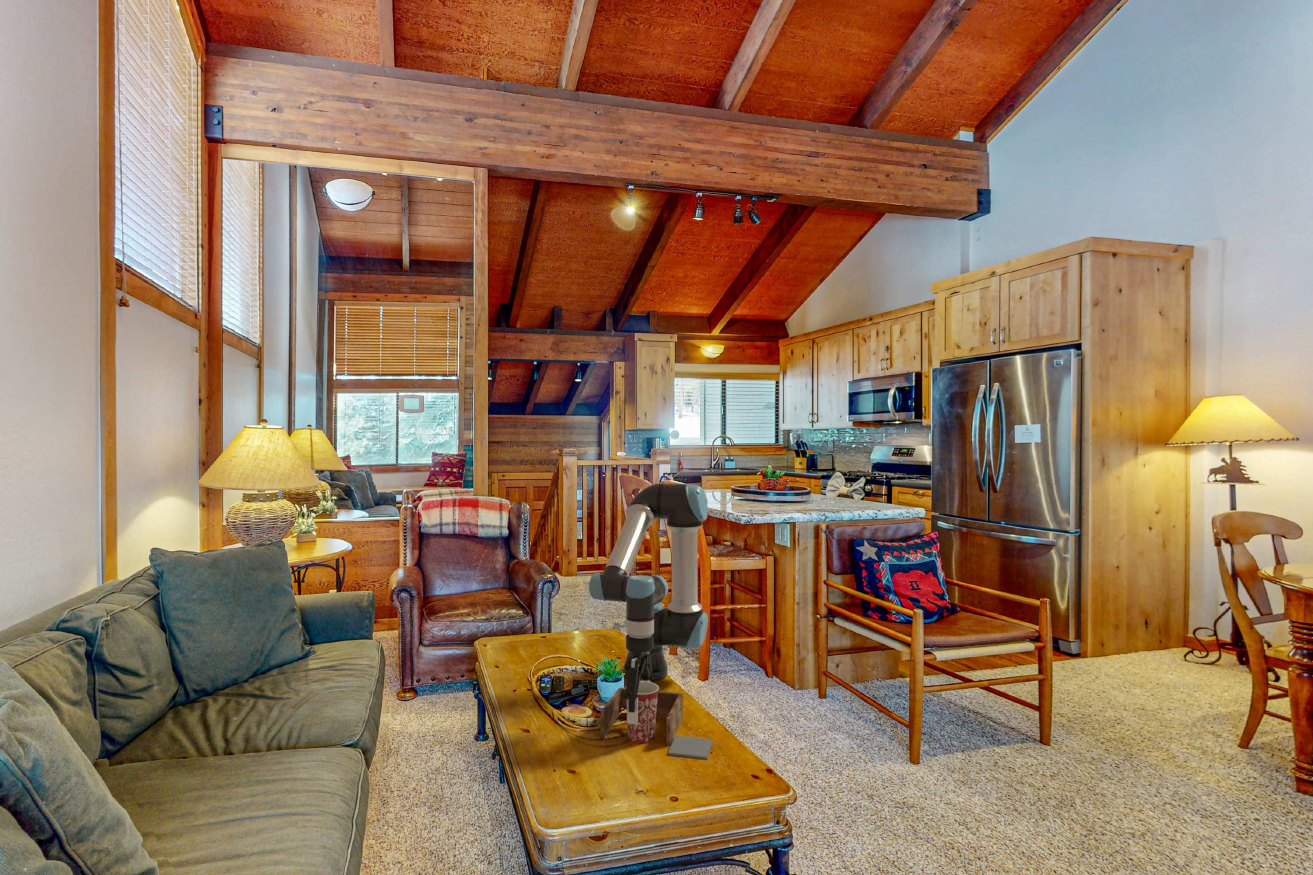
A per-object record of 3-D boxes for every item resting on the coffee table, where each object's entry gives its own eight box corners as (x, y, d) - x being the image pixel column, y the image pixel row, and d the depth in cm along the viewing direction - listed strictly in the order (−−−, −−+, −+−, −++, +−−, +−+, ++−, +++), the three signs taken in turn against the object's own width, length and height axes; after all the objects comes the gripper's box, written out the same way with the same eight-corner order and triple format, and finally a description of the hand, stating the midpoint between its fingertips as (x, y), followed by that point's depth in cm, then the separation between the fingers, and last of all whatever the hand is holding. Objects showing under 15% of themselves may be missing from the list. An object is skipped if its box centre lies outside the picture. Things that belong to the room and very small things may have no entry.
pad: (675, 737, 183) (675, 735, 183) (712, 741, 181) (712, 739, 181) (668, 754, 173) (668, 752, 173) (707, 759, 171) (707, 756, 171)
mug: (663, 741, 181) (664, 690, 181) (632, 747, 177) (632, 695, 177) (645, 722, 192) (645, 674, 192) (615, 727, 189) (615, 679, 189)
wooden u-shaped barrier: (619, 711, 200) (619, 687, 200) (682, 717, 196) (683, 693, 196) (600, 737, 183) (600, 711, 183) (670, 745, 178) (670, 718, 178)
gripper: (637, 621, 198) (636, 695, 198) (613, 646, 173) (612, 730, 173) (663, 623, 196) (662, 697, 196) (642, 648, 172) (641, 733, 172)
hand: (638, 713), depth 185 cm, fingers open, 13 cm apart
